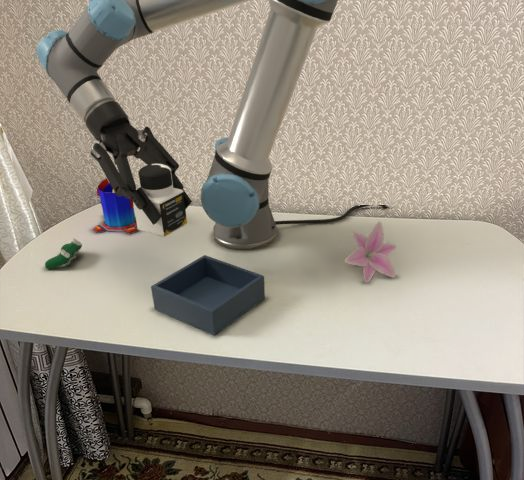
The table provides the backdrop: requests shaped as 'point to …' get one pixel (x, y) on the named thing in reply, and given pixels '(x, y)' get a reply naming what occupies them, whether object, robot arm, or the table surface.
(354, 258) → the lily
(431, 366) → the table surface
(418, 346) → the table surface
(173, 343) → the table surface
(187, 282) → the tote
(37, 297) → the table surface
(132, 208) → the fantasy tower
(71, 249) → the gaming controller
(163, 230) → the medicine bottle
